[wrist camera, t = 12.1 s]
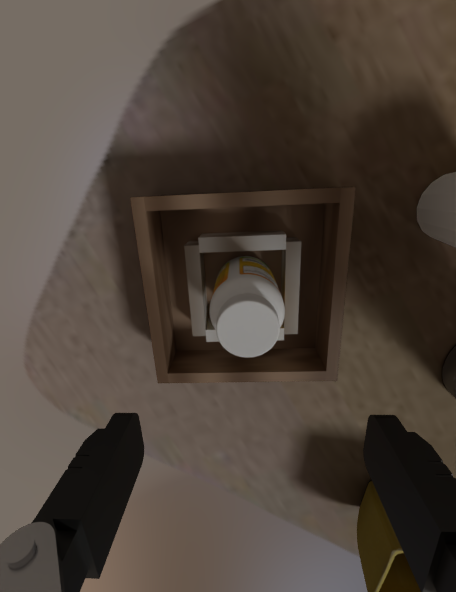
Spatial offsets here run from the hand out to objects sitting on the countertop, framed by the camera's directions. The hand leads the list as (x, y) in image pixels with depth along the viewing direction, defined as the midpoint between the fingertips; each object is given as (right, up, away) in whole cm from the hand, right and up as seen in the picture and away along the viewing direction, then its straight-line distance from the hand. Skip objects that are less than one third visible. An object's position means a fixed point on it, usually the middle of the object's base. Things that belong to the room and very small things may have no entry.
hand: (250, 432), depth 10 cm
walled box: (+1, +6, +18) cm, 19 cm away
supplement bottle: (+1, +6, +17) cm, 18 cm away
